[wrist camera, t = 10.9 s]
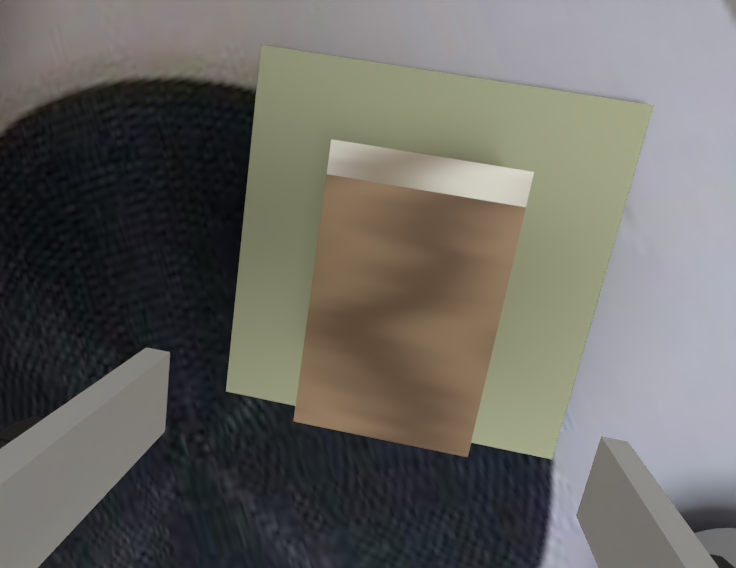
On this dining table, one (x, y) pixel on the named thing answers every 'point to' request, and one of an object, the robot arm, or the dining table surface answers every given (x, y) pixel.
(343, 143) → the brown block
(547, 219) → the olive mat
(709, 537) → the teacup
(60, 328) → the dining table surface
